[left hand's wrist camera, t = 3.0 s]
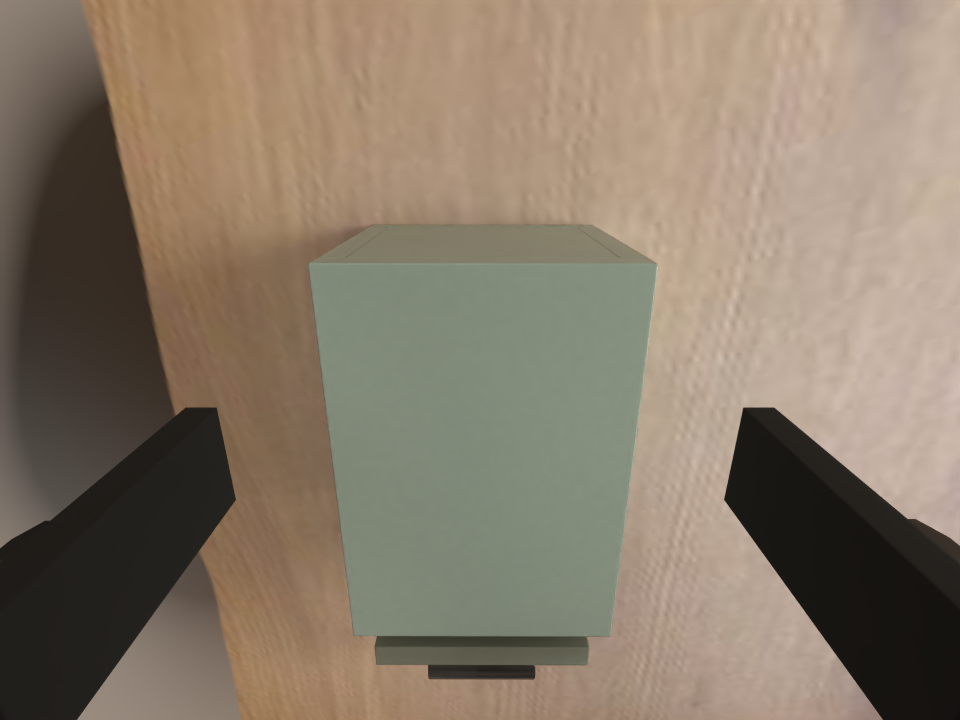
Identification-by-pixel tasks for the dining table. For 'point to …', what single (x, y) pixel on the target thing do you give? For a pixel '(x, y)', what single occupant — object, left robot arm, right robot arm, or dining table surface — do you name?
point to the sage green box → (482, 423)
